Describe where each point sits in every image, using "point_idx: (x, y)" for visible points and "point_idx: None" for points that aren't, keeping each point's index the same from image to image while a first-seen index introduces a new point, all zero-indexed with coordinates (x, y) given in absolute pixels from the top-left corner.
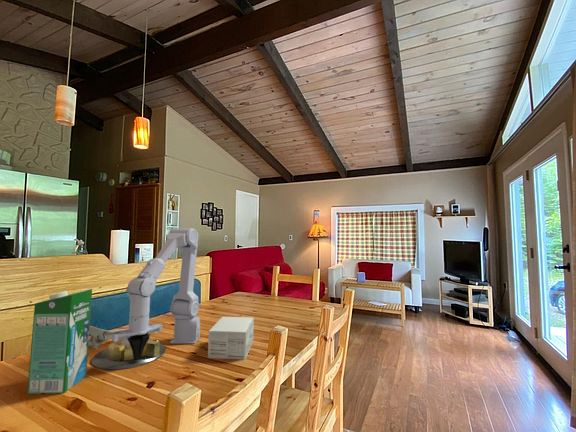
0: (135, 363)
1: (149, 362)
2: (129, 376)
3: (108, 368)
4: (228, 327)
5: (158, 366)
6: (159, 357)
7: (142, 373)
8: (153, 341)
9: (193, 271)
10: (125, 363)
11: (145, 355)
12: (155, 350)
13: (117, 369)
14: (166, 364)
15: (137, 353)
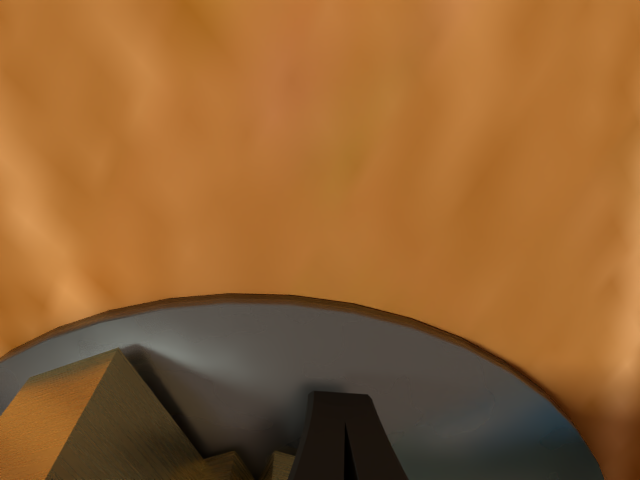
0: (368, 368)
1: (214, 295)
2: (613, 121)
3: (593, 457)
4: None
5: (172, 80)
6: (51, 330)
7: (460, 54)
8: None
9: None
10: (434, 439)
11: (191, 450)
12: (61, 424)
13: (543, 393)
14: (39, 38)
15: (380, 469)
